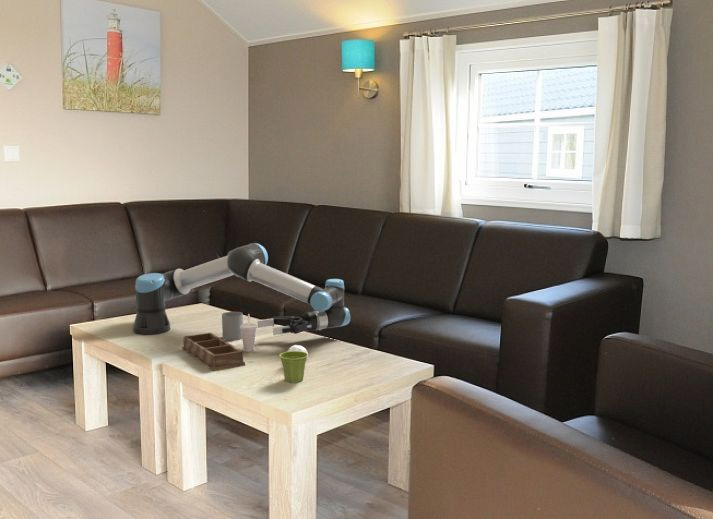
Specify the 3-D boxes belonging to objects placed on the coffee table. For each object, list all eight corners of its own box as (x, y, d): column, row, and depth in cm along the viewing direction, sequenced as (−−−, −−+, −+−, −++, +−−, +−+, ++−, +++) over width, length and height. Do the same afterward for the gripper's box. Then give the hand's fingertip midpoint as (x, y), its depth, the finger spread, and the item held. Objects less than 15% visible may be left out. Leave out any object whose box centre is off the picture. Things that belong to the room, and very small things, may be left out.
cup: (238, 341, 291) (238, 316, 289) (219, 340, 293) (218, 315, 291) (246, 335, 299) (245, 312, 298) (227, 334, 301) (226, 311, 299)
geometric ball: (291, 374, 257) (277, 357, 256) (302, 361, 264) (288, 344, 262) (305, 368, 253) (291, 350, 251) (316, 354, 259) (302, 337, 258)
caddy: (182, 349, 280) (181, 336, 279) (211, 344, 286) (211, 332, 285) (213, 370, 253) (212, 356, 252) (245, 365, 259) (244, 351, 258)
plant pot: (280, 375, 247) (279, 351, 246) (307, 375, 248) (307, 350, 247) (279, 384, 238) (279, 359, 237) (308, 384, 239) (308, 358, 237)
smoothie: (260, 348, 280) (259, 313, 278) (252, 353, 274) (251, 316, 272) (245, 347, 282) (244, 311, 280) (237, 351, 276) (236, 315, 274)
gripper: (330, 336, 281) (280, 344, 270) (299, 323, 302) (252, 330, 291) (329, 317, 280) (280, 324, 269) (299, 305, 301) (251, 312, 290)
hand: (265, 327), depth 280 cm, fingers open, 13 cm apart
